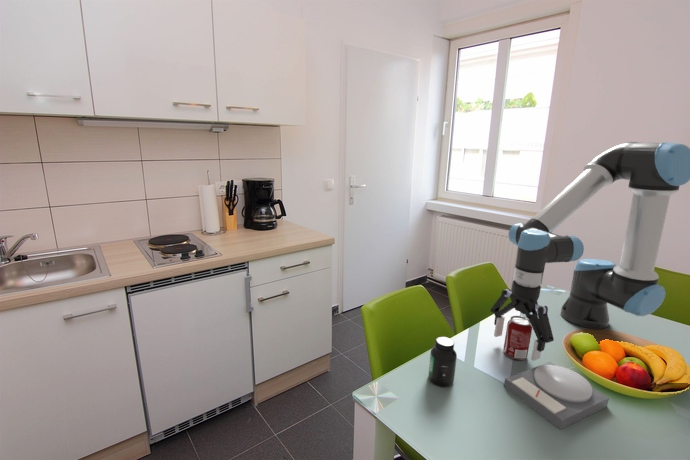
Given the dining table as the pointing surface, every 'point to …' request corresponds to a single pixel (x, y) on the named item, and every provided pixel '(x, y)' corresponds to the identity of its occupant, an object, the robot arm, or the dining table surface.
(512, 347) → the soda can
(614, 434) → the dining table surface
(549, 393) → the scale
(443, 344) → the supplement bottle
